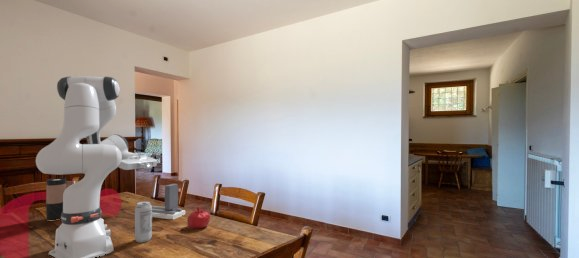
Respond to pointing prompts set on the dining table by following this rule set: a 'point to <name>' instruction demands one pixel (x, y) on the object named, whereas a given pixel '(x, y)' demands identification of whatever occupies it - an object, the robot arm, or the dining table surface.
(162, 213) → the fader board
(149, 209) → the energy drink can
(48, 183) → the travel mug
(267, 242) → the dining table surface
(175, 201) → the fader tab
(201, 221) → the pomegranate
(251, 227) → the dining table surface
